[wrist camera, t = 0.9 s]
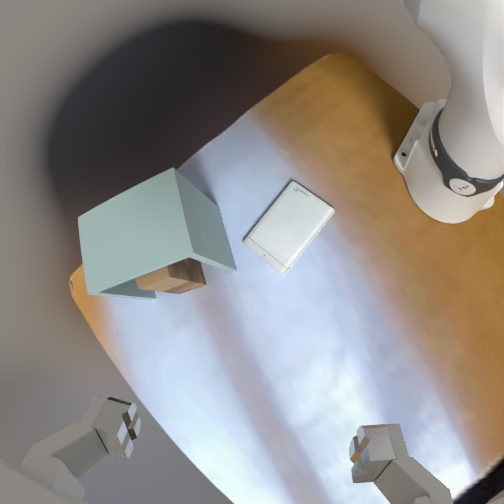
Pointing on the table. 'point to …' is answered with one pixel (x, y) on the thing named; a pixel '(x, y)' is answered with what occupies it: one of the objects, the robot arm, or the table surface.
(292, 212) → the hard drive
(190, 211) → the tunnel
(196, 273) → the walnut block
